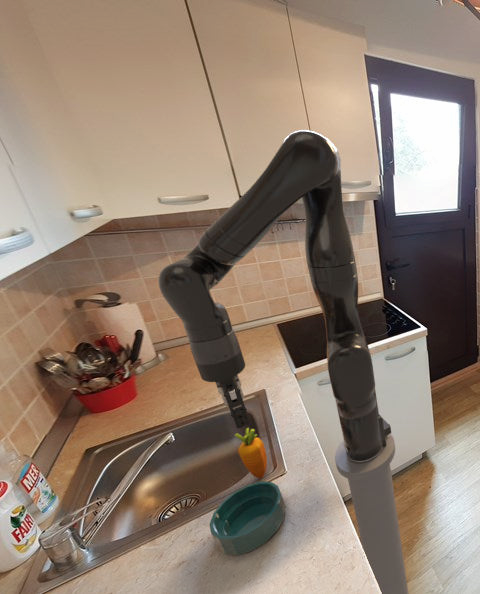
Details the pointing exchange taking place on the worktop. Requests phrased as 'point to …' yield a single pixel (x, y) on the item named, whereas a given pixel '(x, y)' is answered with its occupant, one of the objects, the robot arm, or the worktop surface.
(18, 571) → the worktop surface
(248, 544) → the bowl
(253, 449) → the carrot
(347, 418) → the robot arm
